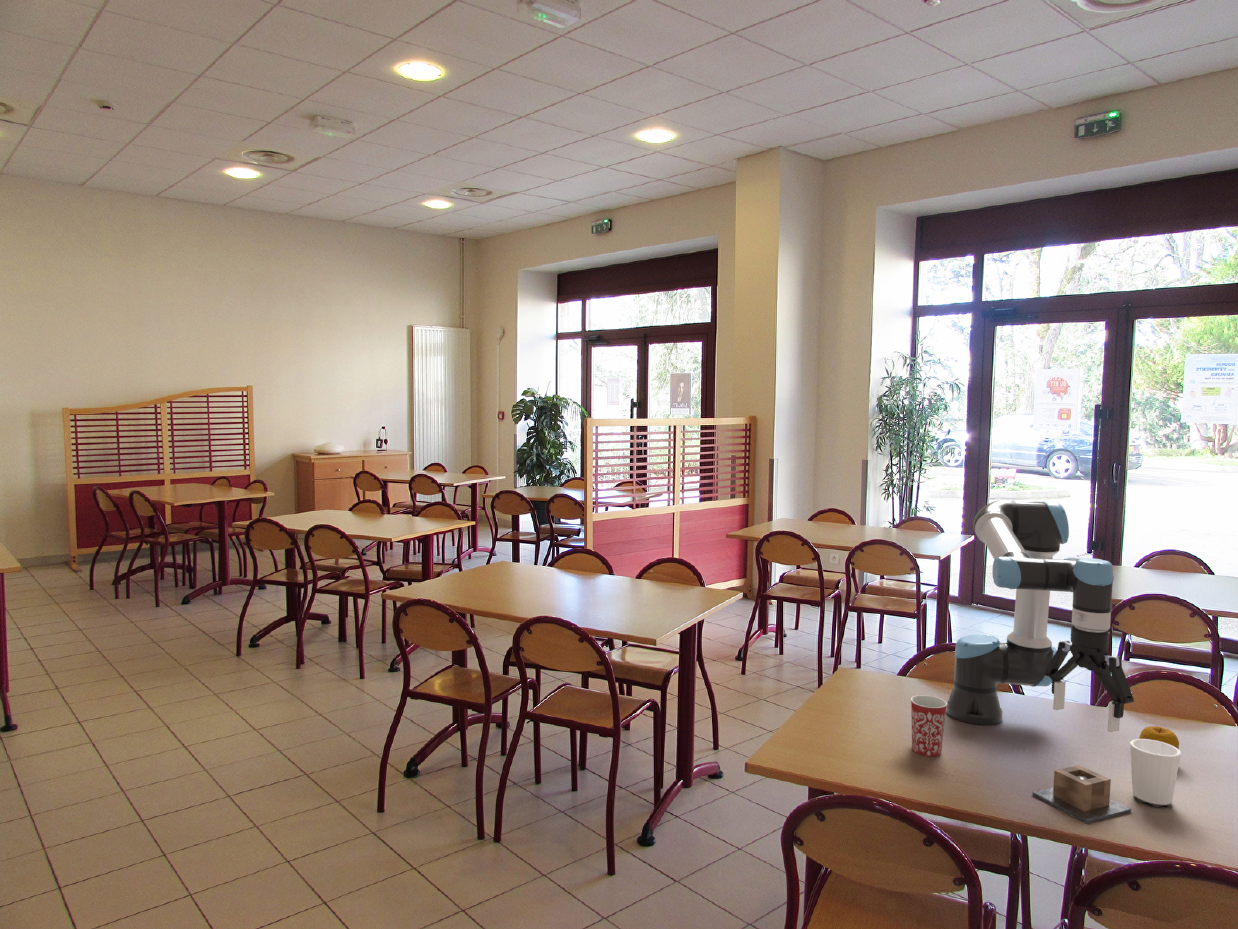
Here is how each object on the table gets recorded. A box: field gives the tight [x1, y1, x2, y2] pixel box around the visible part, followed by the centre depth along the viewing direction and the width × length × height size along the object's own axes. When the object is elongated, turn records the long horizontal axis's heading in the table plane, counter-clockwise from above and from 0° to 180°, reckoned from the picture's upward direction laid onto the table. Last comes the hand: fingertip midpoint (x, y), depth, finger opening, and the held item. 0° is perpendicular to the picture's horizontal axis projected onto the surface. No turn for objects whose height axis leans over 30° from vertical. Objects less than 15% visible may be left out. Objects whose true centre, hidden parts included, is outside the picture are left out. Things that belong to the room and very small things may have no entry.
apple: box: [1138, 725, 1180, 750], centre depth 209 cm, size 8×8×9 cm
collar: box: [1053, 764, 1112, 811], centre depth 186 cm, size 8×8×6 cm
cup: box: [1129, 738, 1182, 808], centre depth 188 cm, size 10×10×13 cm
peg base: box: [1032, 776, 1132, 825], centre depth 186 cm, size 14×14×6 cm
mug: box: [910, 694, 948, 757], centre depth 215 cm, size 13×9×14 cm
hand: (1085, 719), depth 185 cm, fingers open, 13 cm apart
